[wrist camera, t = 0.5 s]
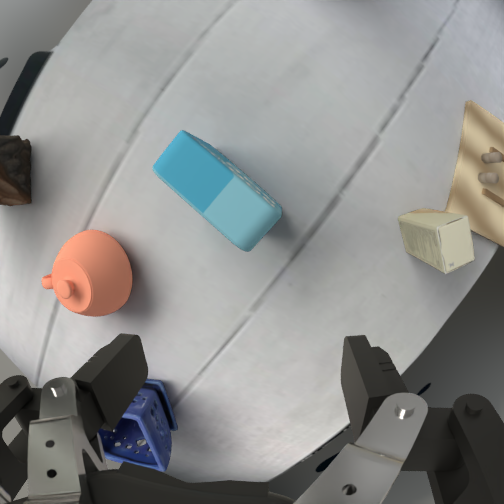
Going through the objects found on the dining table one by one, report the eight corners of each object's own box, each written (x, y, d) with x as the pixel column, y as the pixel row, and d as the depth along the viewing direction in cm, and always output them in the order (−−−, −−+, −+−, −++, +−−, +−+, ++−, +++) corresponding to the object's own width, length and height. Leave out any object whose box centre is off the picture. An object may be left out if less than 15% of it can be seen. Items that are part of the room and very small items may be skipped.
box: (431, 242, 34) (476, 263, 24) (405, 252, 35) (445, 277, 24) (423, 205, 34) (469, 214, 23) (396, 214, 34) (437, 227, 24)
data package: (282, 206, 36) (283, 217, 24) (258, 234, 37) (247, 256, 25) (209, 144, 35) (177, 126, 23) (186, 171, 36) (145, 166, 24)
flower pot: (103, 364, 44) (67, 403, 33) (168, 370, 43) (139, 418, 31) (126, 418, 47) (100, 458, 36) (187, 426, 46) (168, 474, 34)
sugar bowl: (146, 307, 41) (111, 340, 31) (75, 303, 42) (37, 328, 32) (133, 224, 38) (91, 237, 28) (62, 231, 40) (17, 243, 30)
